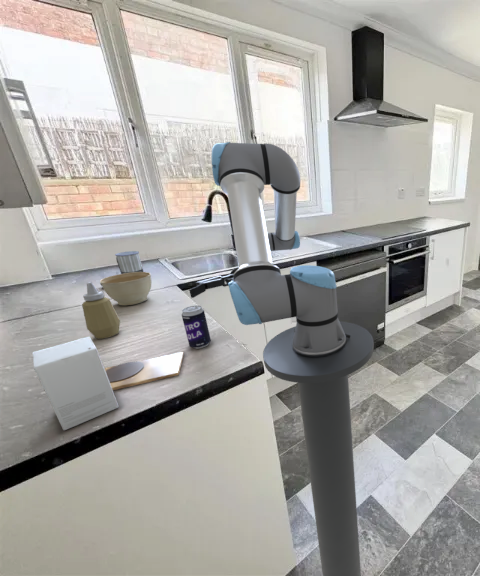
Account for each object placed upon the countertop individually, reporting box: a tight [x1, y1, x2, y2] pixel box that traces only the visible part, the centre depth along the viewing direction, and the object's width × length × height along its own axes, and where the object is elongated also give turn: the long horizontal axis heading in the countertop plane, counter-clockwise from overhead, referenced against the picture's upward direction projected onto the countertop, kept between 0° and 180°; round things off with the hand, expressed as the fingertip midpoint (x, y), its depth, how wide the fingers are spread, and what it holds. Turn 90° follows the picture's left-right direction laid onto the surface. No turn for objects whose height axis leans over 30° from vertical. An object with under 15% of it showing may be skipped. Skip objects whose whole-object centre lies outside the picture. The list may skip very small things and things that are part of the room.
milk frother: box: [99, 250, 144, 287], centre depth 149 cm, size 14×16×15 cm
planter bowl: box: [99, 271, 152, 306], centre depth 127 cm, size 16×16×11 cm
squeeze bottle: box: [81, 281, 121, 340], centre depth 97 cm, size 8×8×18 cm
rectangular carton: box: [32, 335, 119, 431], centre depth 65 cm, size 9×9×15 cm
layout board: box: [104, 351, 185, 391], centre depth 79 cm, size 20×12×1 cm, turn 116°
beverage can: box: [181, 305, 212, 350], centre depth 91 cm, size 6×6×12 cm
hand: (211, 294), depth 98 cm, fingers open, 13 cm apart
